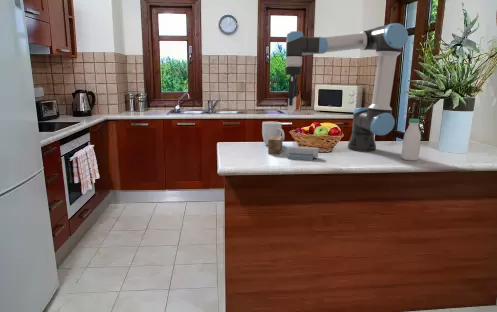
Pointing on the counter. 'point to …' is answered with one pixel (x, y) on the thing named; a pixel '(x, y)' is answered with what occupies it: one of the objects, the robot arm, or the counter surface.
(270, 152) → the bearing block
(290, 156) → the cradle
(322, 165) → the counter surface
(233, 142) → the counter surface
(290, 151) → the shaft
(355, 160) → the counter surface
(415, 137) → the milk bottle
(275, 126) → the mug
